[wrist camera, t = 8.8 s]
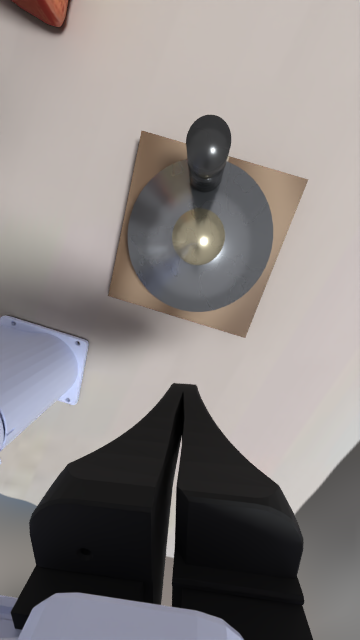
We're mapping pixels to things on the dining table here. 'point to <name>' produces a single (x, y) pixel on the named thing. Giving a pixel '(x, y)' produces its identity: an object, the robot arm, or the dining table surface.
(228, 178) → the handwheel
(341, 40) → the dining table surface
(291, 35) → the dining table surface
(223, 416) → the dining table surface
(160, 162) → the walnut base
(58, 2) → the snack package
